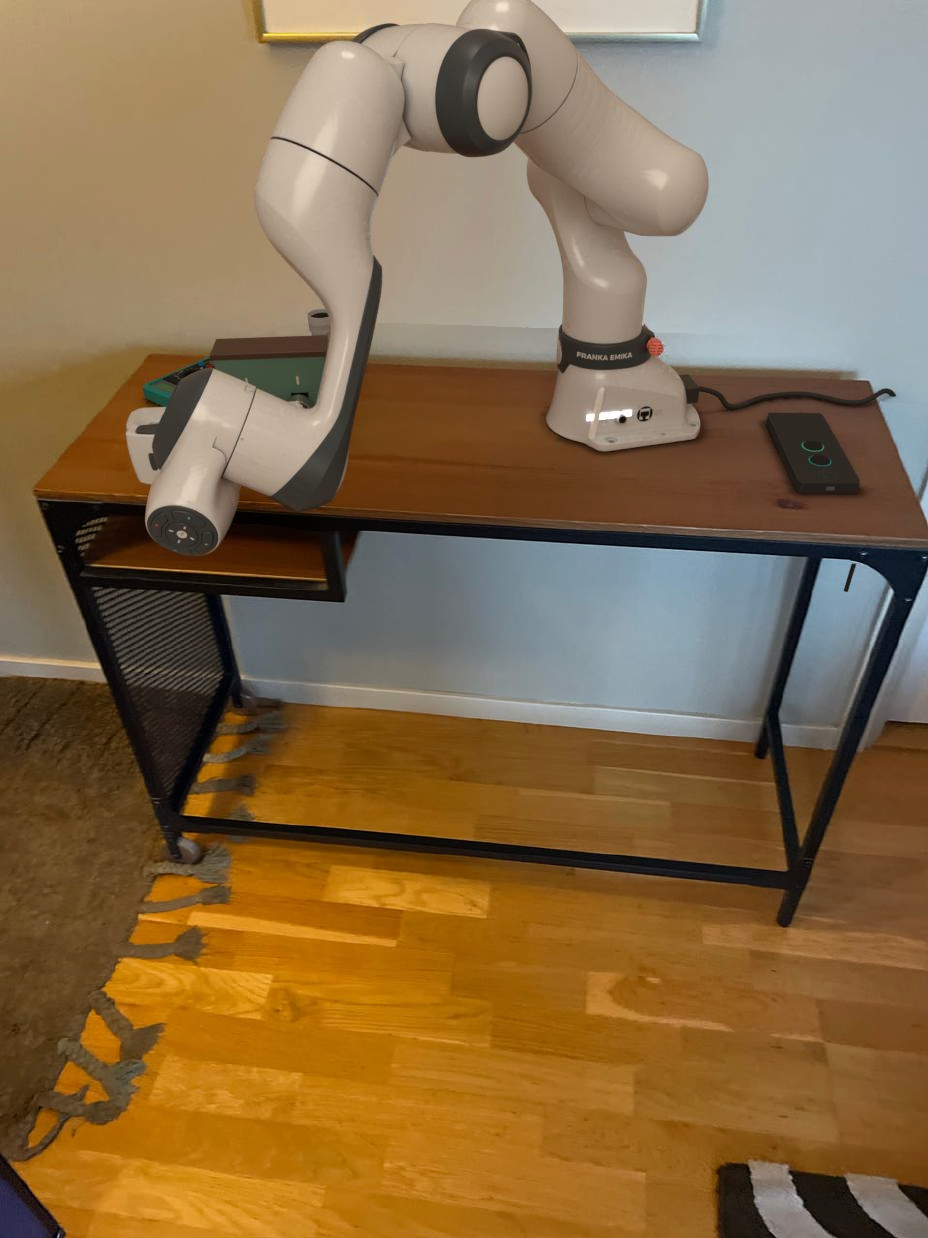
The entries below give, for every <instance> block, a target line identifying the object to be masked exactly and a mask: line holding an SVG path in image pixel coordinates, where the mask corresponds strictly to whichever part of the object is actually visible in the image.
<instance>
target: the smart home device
mask: <svg viewBox="0 0 928 1238" xmlns="http://www.w3.org/2000/svg"><path fill="white" fill-rule="evenodd" d="M765 426H766V429H767V431H768V433H769V436H770V438H771V441H772V442H773V445H774V447H775V449H776V451H777V453H778V456H779V458H780V460H781V462H782V465H783V467H784V469H785V471H786V473H787V476H788V478H789V480H790V482H791V485H792V487H793V489H794V491H795V492H796V493H798V494H822V495H823V494H824V495H825V494H827V495H828V494H829V495H830V494H831V495H833V494H834V495H835V494H837V495H856V494H857V493H858V489H859V486H860V484H861V480H860V478H859V476H858V474H857V473H856V471H855V469H854V467H853V466H852V464H851V462H850V460H849V459H848V457H847V455H846V453H845V452H844V449H843V448H842V445H840V442H839V440H838V439H837V437H836V435H835V434H834V432H833V430H832V429H831V426H830V424H829V423H828V421H827V420H826V418H825V416H824V415H823V414H822V413H820V412H768V413H767V417H766V422H765Z"/></svg>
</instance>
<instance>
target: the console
mask: <svg viewBox="0 0 928 1238" xmlns="http://www.w3.org/2000/svg"><path fill="white" fill-rule="evenodd" d="M327 346H328V335H313V336H312V335H289V336H261V337H259V336H258V337H233V338H231V337H228V338H227V337H226V338H215V341H214V343H213V346H212V348H211V350H210V353H209V356H210V360H213V361H214V366H215V369H216V370H219V371H221V372H224V373H226V374H228V375H231V376H233V377H235V378H238V379H240V380H242V381H244V382H247V383H249V384H251V385H253V386H255V387H256V388H258V389H260V390H262V391H265V392H267V393H269V394H271V395H273V396H276V397H278V398H280V399H282V400H285V401H288V399H289V398H290V397H291V396H293V395H298V394H299V393H303V394H305V396H306V397H307V398H308V399H309V400H310V401H311V403H312V407H314V406H315V405H316V401H317V396H318V392H319V387H320V383H321V378H322V374H323V369H324V364H325V360H326V355H327Z"/></svg>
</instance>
